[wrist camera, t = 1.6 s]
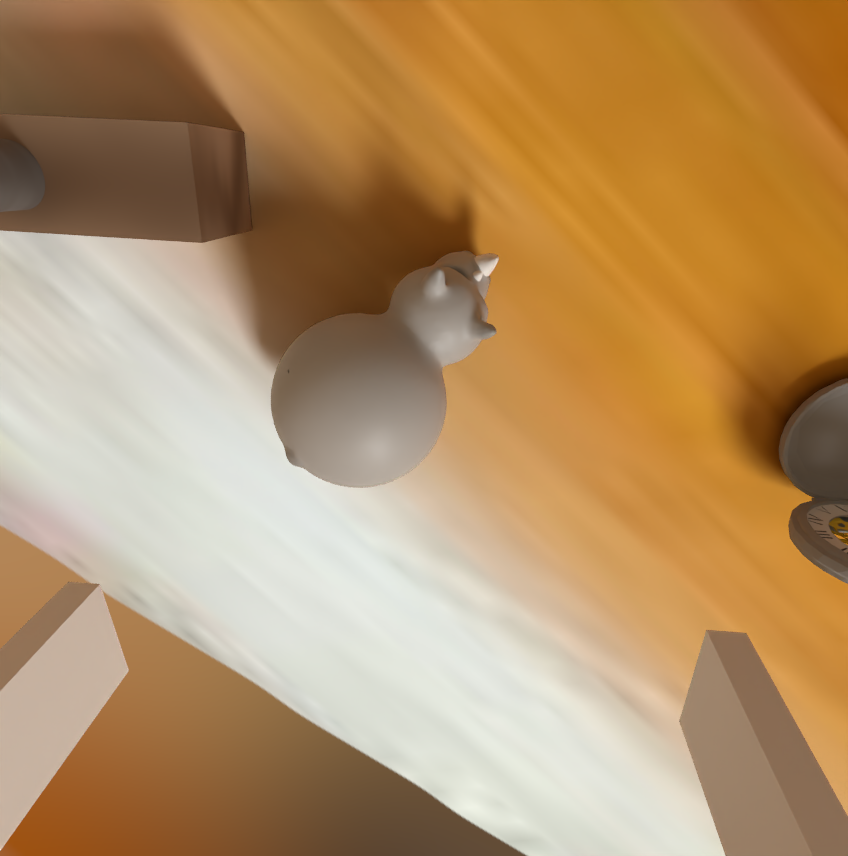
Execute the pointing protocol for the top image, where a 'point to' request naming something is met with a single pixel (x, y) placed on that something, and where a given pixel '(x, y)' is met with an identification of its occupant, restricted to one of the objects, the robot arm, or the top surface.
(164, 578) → the top surface
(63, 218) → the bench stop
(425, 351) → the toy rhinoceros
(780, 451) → the pocket watch
